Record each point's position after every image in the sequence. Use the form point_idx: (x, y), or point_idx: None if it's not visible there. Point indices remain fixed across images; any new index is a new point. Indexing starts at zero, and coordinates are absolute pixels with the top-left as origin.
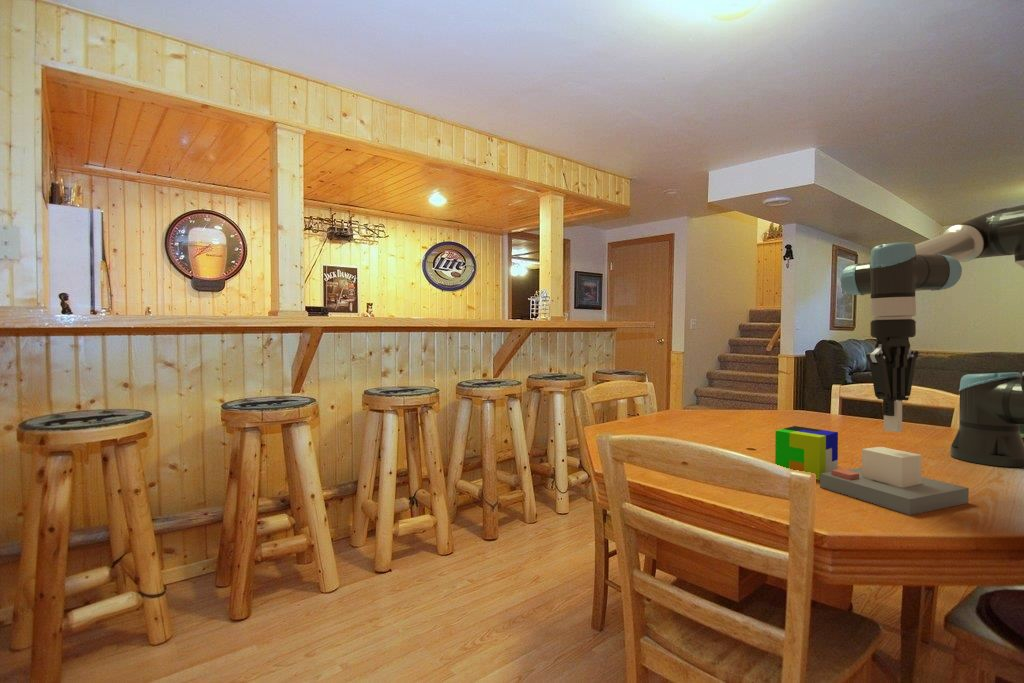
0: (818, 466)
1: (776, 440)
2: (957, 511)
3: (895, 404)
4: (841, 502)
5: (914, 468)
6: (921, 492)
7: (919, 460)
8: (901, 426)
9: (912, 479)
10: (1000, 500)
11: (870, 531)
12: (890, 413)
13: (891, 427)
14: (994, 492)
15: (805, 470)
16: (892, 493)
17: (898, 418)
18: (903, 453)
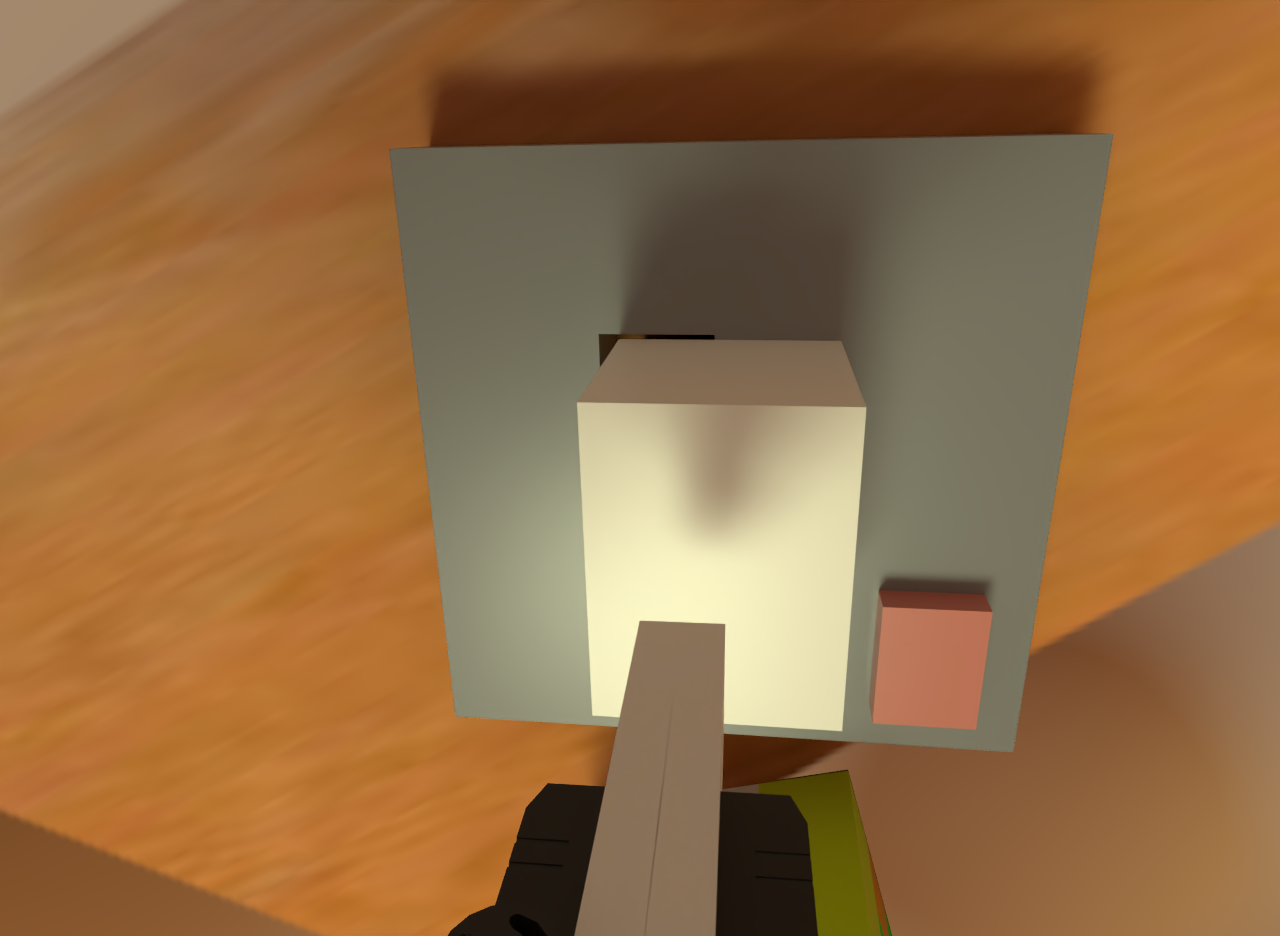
0: (858, 840)
1: None
2: (678, 63)
3: (717, 923)
4: (1194, 467)
5: (687, 372)
6: (836, 210)
7: (614, 388)
8: (642, 659)
9: (718, 349)
10: (175, 101)
11: None
12: (807, 827)
13: (723, 710)
14: (51, 218)
15: (870, 868)
16: (1067, 276)
17: (696, 731)
18: (668, 501)
